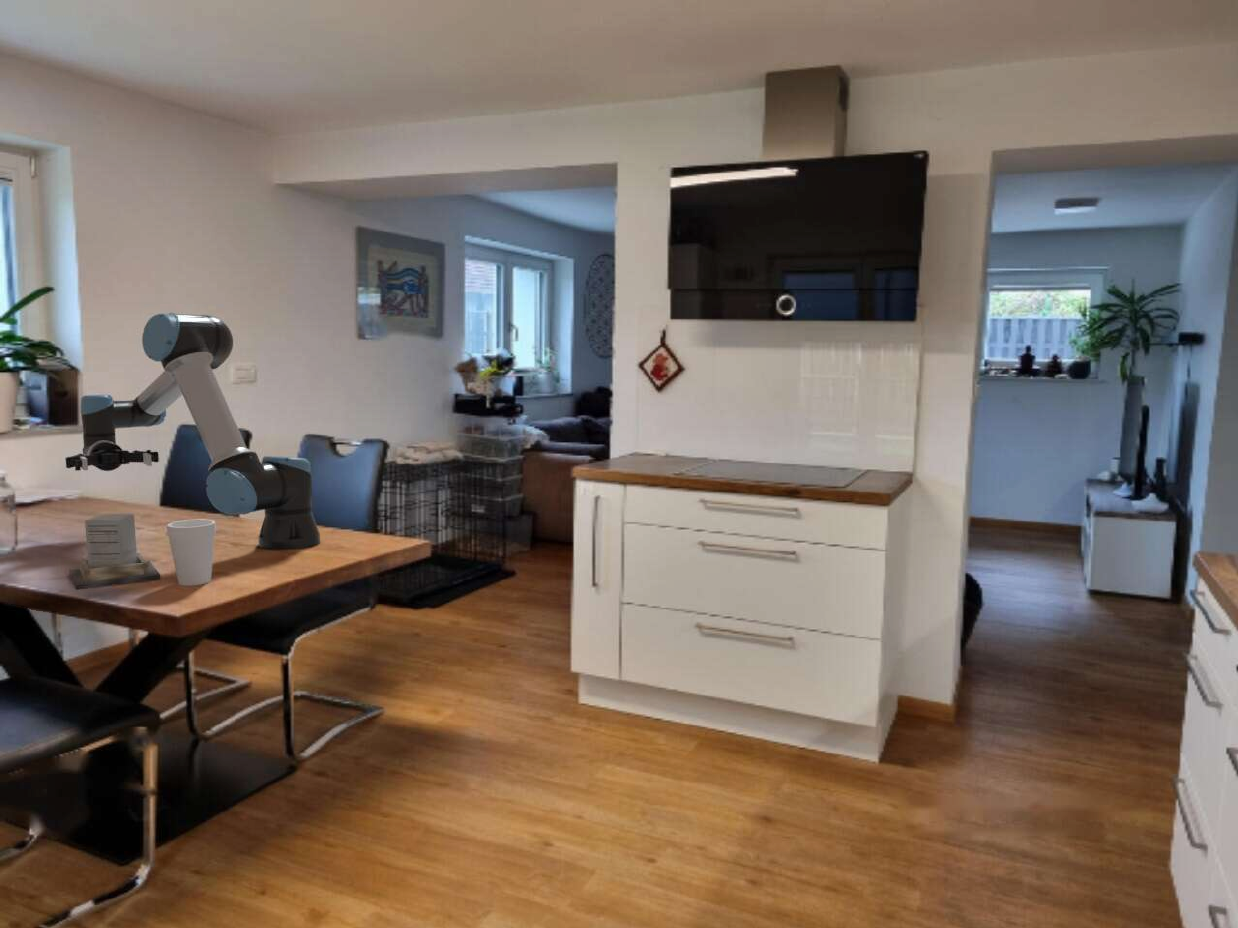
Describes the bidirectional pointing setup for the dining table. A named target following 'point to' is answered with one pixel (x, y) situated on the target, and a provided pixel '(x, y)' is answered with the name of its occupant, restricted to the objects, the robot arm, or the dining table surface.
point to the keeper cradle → (113, 574)
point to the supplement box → (111, 540)
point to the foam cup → (192, 550)
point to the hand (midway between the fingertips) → (118, 462)
